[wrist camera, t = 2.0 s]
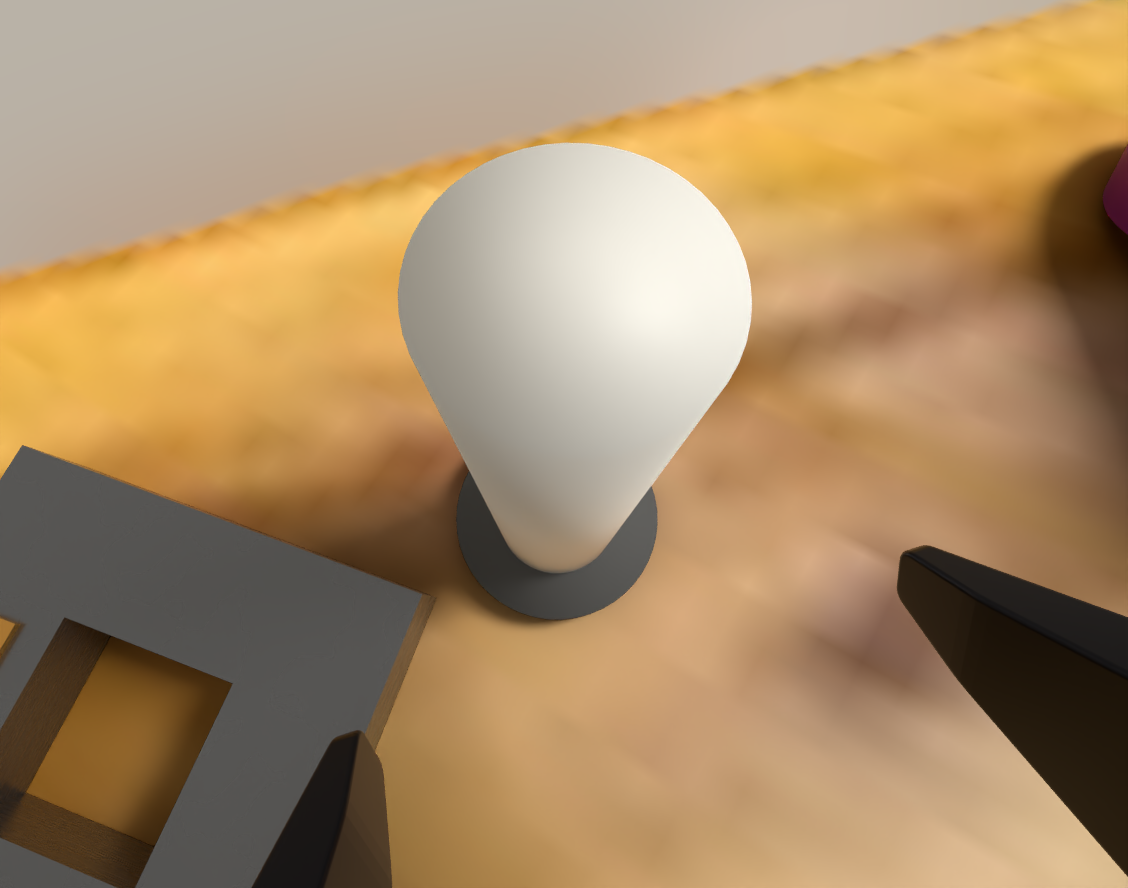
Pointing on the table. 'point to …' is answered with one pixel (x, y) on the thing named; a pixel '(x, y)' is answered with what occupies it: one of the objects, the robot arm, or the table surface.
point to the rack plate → (192, 637)
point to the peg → (572, 334)
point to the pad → (553, 590)
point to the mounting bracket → (1118, 194)
